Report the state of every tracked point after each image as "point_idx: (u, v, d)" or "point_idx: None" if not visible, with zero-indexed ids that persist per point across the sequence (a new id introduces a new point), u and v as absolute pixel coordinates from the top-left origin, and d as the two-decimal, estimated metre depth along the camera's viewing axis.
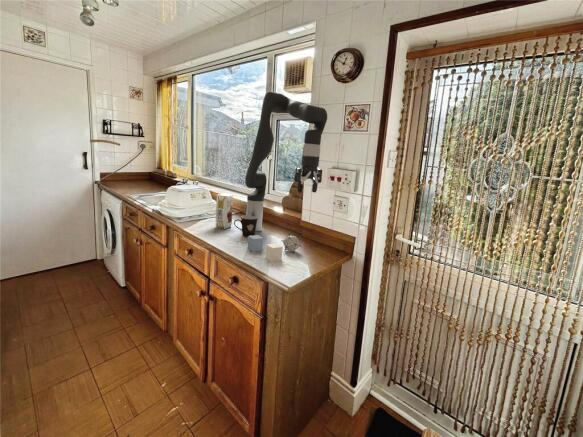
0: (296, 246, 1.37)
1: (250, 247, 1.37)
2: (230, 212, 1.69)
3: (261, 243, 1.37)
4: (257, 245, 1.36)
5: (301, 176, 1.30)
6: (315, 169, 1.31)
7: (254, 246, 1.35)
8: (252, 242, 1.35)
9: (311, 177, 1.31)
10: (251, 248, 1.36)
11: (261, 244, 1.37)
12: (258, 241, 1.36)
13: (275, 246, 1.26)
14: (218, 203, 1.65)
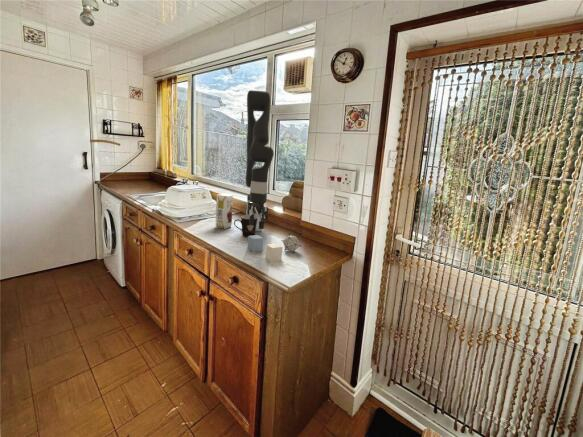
0: (296, 246, 1.37)
1: (250, 247, 1.37)
2: (230, 212, 1.69)
3: (261, 243, 1.37)
4: (257, 245, 1.36)
5: (258, 213, 1.32)
6: None
7: (254, 246, 1.35)
8: (252, 242, 1.35)
9: None
10: (251, 248, 1.36)
11: (261, 244, 1.37)
12: (258, 241, 1.36)
13: (275, 246, 1.26)
14: (218, 203, 1.65)
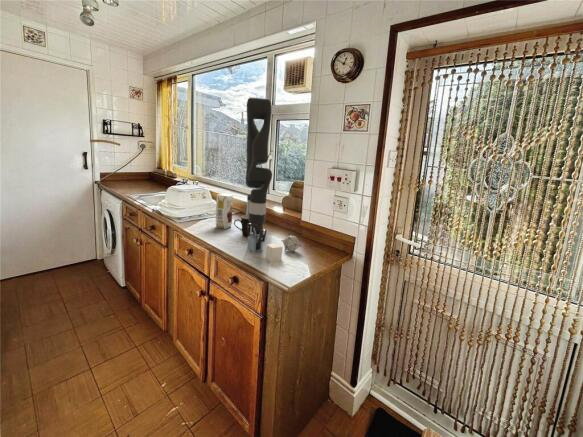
0: (296, 246, 1.37)
1: (250, 247, 1.37)
2: (230, 212, 1.69)
3: (261, 243, 1.37)
4: None
5: (256, 234, 1.34)
6: None
7: (254, 246, 1.35)
8: (252, 241, 1.35)
9: None
10: (251, 248, 1.36)
11: (261, 244, 1.37)
12: None
13: (275, 246, 1.26)
14: (218, 203, 1.65)
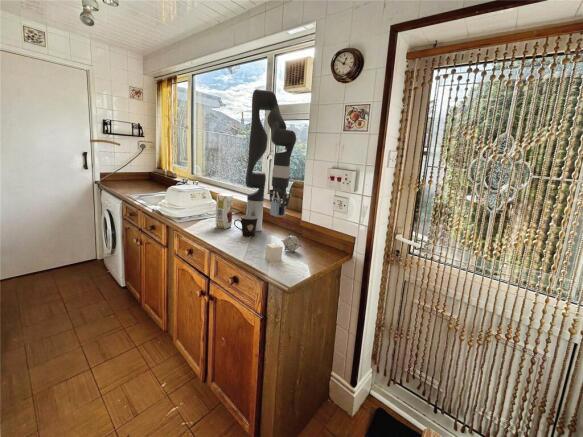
0: (296, 246, 1.37)
1: (273, 212, 1.34)
2: (230, 212, 1.69)
3: (284, 208, 1.34)
4: None
5: (279, 199, 1.31)
6: None
7: (277, 211, 1.32)
8: (275, 206, 1.32)
9: None
10: (274, 213, 1.33)
11: (284, 209, 1.34)
12: None
13: (275, 246, 1.26)
14: (218, 203, 1.65)
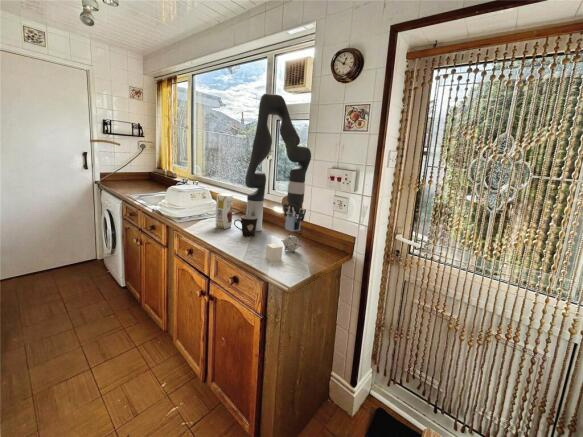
0: (296, 246, 1.37)
1: (288, 227, 1.36)
2: (230, 212, 1.69)
3: None
4: None
5: None
6: None
7: (292, 226, 1.34)
8: (291, 221, 1.34)
9: None
10: (289, 228, 1.35)
11: (299, 224, 1.36)
12: None
13: (275, 246, 1.26)
14: (218, 203, 1.65)
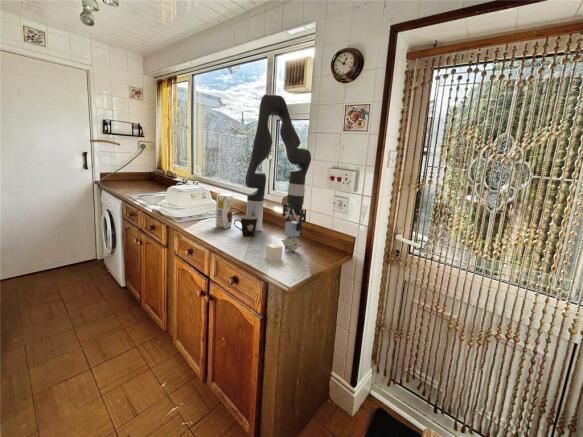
0: (296, 246, 1.37)
1: (287, 233, 1.37)
2: (230, 212, 1.69)
3: None
4: (295, 230, 1.36)
5: None
6: None
7: (292, 231, 1.35)
8: (290, 227, 1.35)
9: None
10: (289, 233, 1.36)
11: None
12: None
13: (275, 246, 1.26)
14: (218, 203, 1.65)
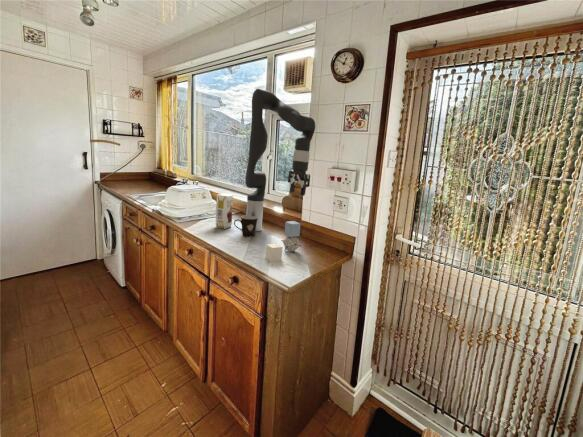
0: (296, 246, 1.37)
1: (287, 233, 1.37)
2: (230, 212, 1.69)
3: (298, 229, 1.37)
4: (295, 230, 1.36)
5: (300, 180, 1.42)
6: None
7: (292, 231, 1.35)
8: (290, 227, 1.35)
9: None
10: (289, 233, 1.36)
11: (298, 230, 1.37)
12: (296, 227, 1.36)
13: (275, 246, 1.26)
14: (218, 203, 1.65)
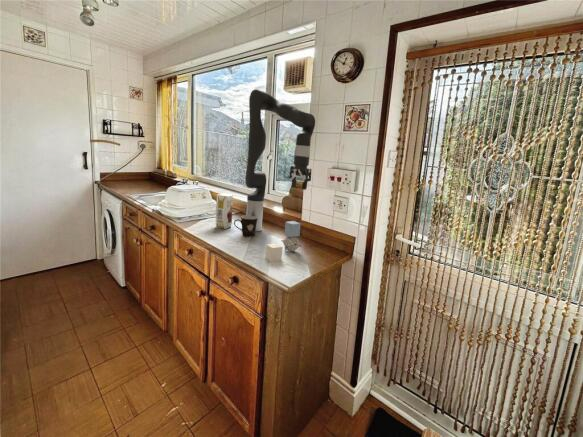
0: (296, 246, 1.37)
1: (287, 233, 1.37)
2: (230, 212, 1.69)
3: (298, 229, 1.37)
4: (295, 230, 1.36)
5: None
6: None
7: (292, 231, 1.35)
8: (290, 227, 1.35)
9: None
10: (289, 234, 1.36)
11: (298, 230, 1.37)
12: (296, 227, 1.36)
13: (275, 246, 1.26)
14: (218, 203, 1.65)
